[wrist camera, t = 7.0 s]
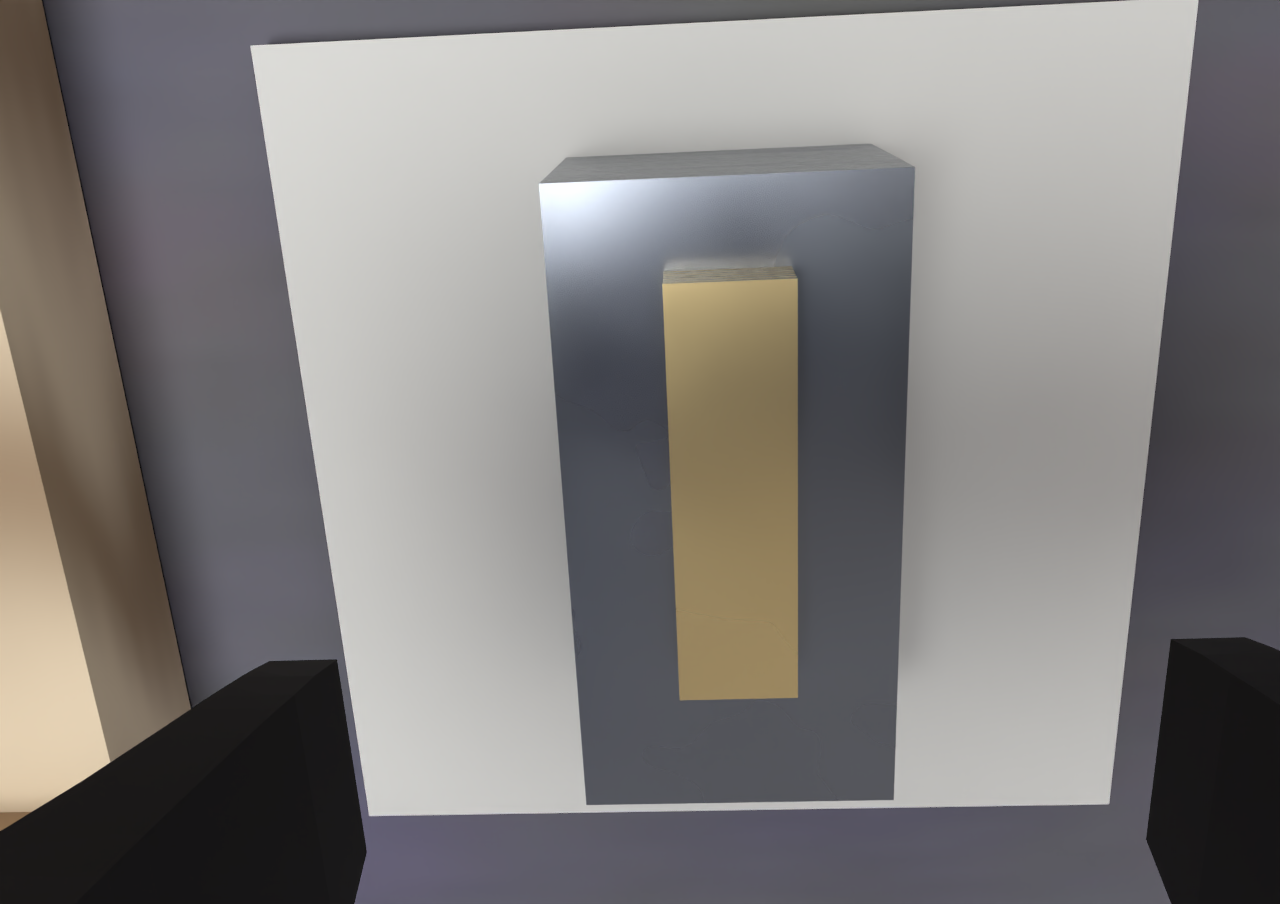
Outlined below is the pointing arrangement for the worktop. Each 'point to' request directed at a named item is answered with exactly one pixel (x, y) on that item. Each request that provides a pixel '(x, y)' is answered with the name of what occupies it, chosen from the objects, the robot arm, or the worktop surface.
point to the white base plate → (937, 369)
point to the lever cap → (733, 466)
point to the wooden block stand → (65, 470)
